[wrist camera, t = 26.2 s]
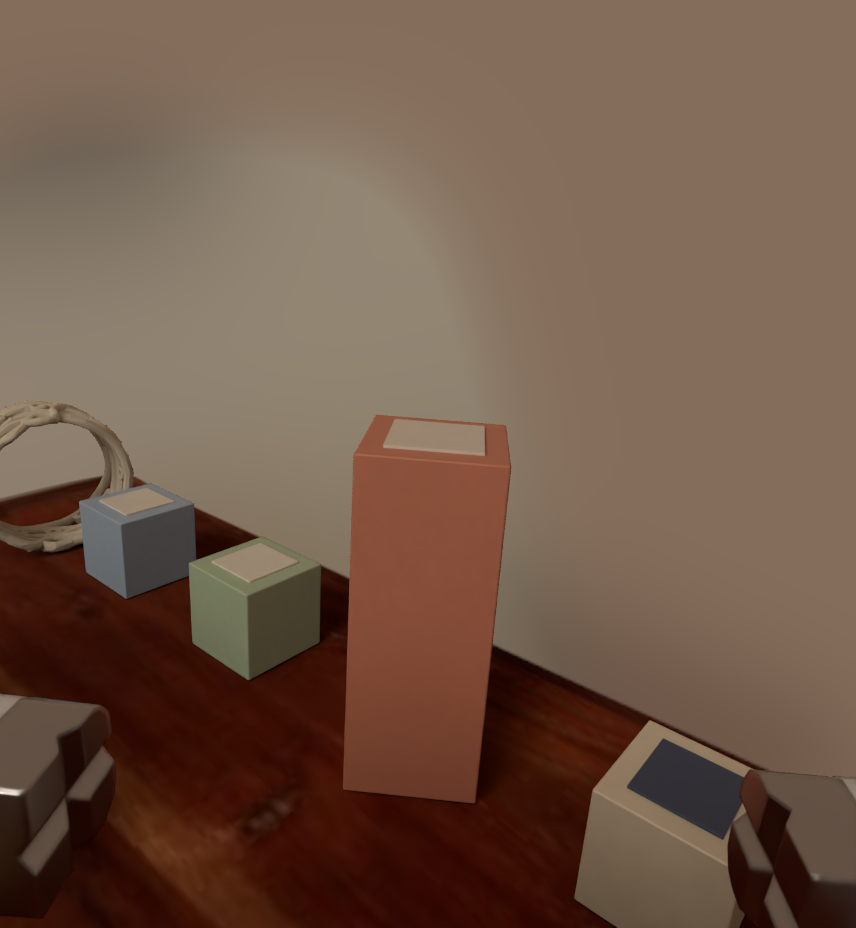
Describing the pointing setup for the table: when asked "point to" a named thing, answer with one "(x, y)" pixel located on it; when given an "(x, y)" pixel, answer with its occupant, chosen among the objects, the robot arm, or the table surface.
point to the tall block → (422, 604)
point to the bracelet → (118, 472)
